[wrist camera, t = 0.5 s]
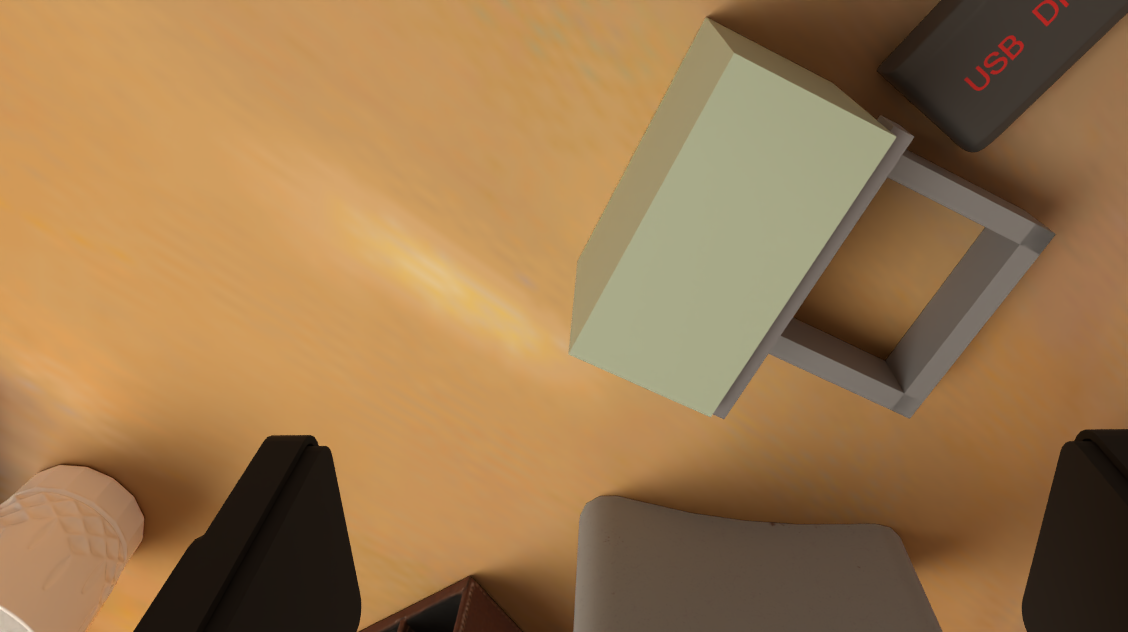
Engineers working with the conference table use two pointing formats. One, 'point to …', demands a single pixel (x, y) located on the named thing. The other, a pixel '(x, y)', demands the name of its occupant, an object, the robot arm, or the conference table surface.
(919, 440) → the conference table surface
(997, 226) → the green box on stand
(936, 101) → the usb drive
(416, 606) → the letter holder
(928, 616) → the flask
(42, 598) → the white cup
